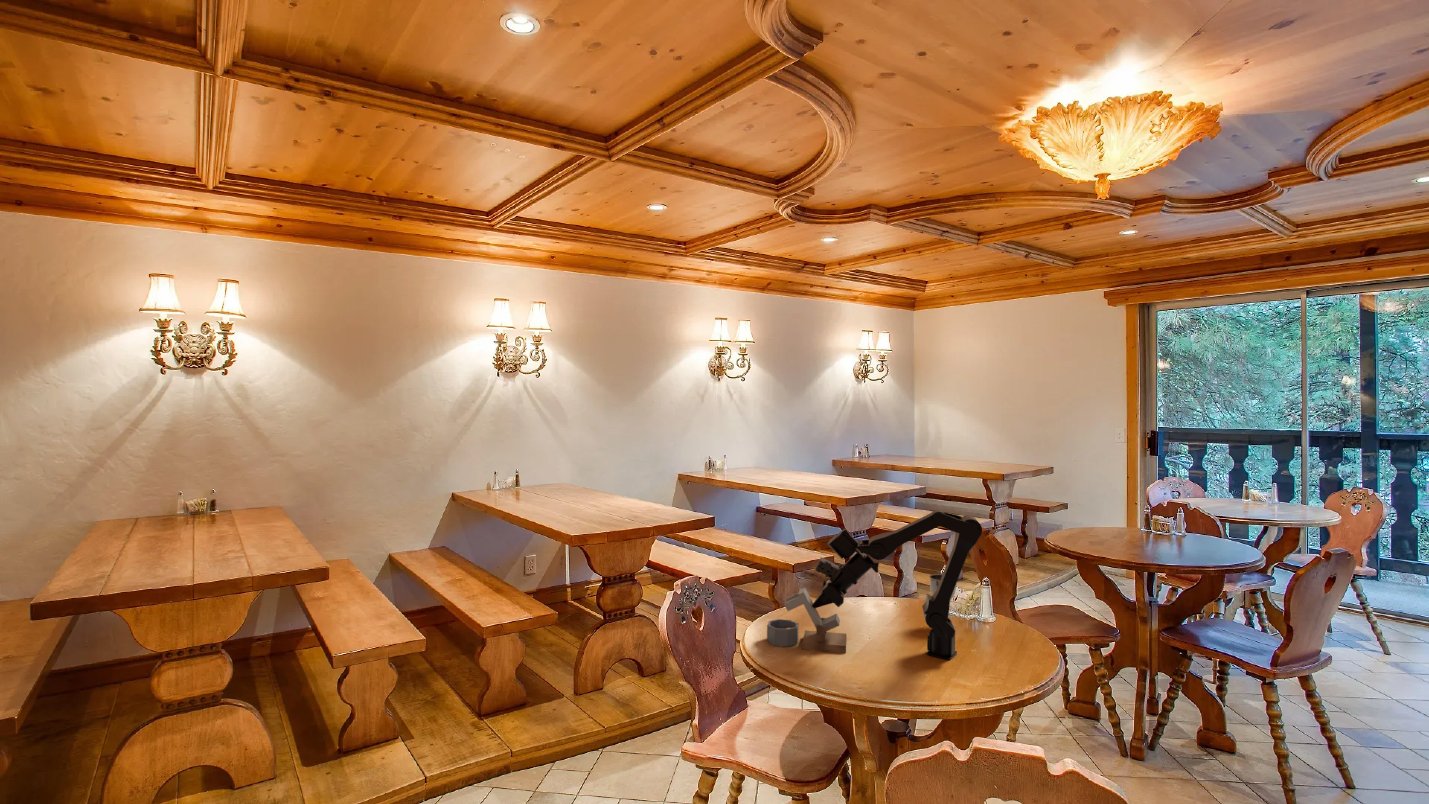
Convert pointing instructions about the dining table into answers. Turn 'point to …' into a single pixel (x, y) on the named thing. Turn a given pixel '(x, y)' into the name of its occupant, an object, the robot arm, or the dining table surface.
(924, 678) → the dining table surface
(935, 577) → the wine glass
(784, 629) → the cup
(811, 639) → the base
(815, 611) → the lever
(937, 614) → the robot arm
